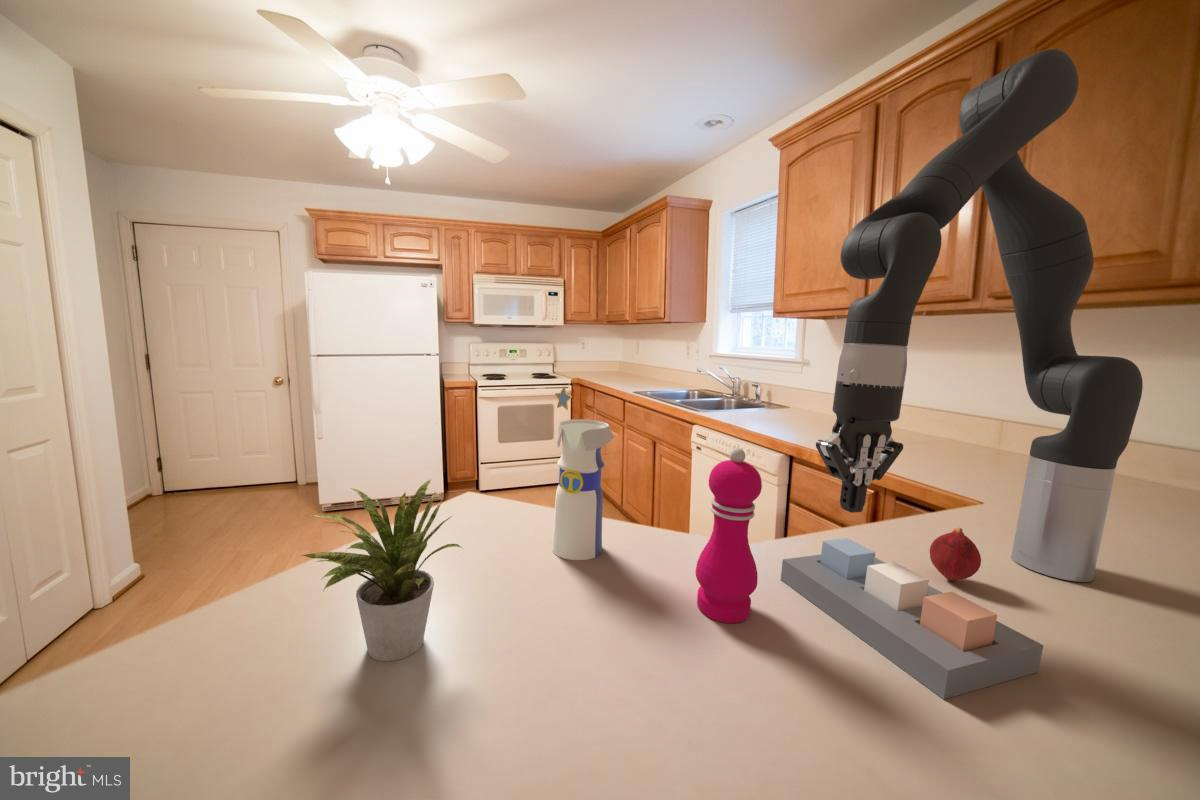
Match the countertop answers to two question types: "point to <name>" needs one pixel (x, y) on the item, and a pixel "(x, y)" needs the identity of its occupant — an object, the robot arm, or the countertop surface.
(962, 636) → the terracotta key
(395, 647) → the house plant
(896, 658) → the board
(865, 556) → the blue key
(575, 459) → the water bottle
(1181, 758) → the countertop surface
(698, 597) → the pepper mill
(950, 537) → the onion
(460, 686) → the countertop surface
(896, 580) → the white key
